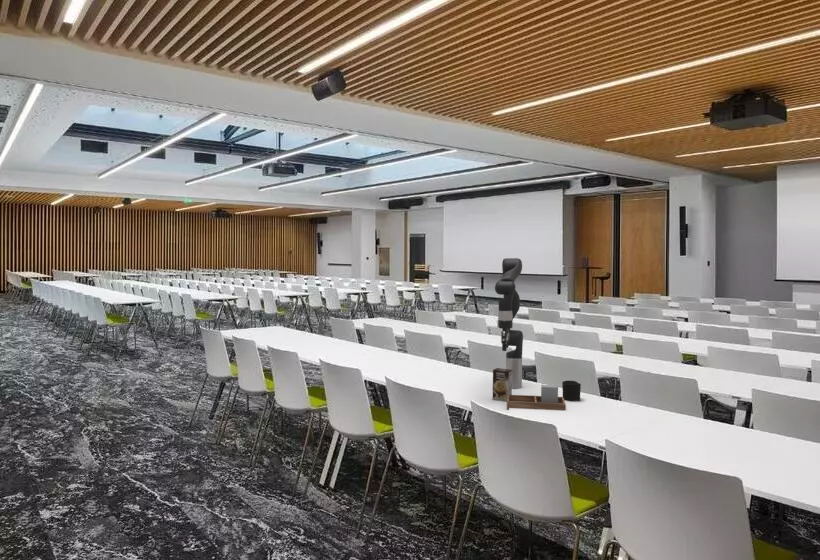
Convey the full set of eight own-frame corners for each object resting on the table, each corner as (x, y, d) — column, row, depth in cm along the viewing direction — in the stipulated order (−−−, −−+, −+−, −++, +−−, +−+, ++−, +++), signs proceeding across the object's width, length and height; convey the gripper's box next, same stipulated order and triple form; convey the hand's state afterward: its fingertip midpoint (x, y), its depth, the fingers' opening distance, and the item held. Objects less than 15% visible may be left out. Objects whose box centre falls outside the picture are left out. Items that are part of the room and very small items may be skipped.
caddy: (507, 402, 306) (507, 394, 306) (563, 404, 301) (563, 396, 301) (507, 409, 292) (507, 401, 291) (565, 412, 286) (565, 404, 286)
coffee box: (492, 399, 311) (492, 369, 310) (496, 397, 317) (496, 367, 316) (508, 401, 307) (508, 371, 306) (512, 398, 313) (512, 369, 312)
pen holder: (560, 402, 306) (560, 383, 305) (564, 398, 314) (564, 379, 313) (578, 404, 301) (578, 385, 301) (582, 400, 309) (582, 381, 309)
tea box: (541, 404, 298) (541, 384, 298) (557, 404, 297) (557, 385, 296) (541, 406, 293) (541, 387, 293) (557, 407, 292) (558, 387, 291)
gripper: (499, 316, 315) (500, 346, 316) (496, 320, 302) (496, 351, 303) (513, 317, 313) (513, 347, 314) (510, 321, 299) (511, 352, 301)
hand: (505, 349), depth 309 cm, fingers open, 8 cm apart
